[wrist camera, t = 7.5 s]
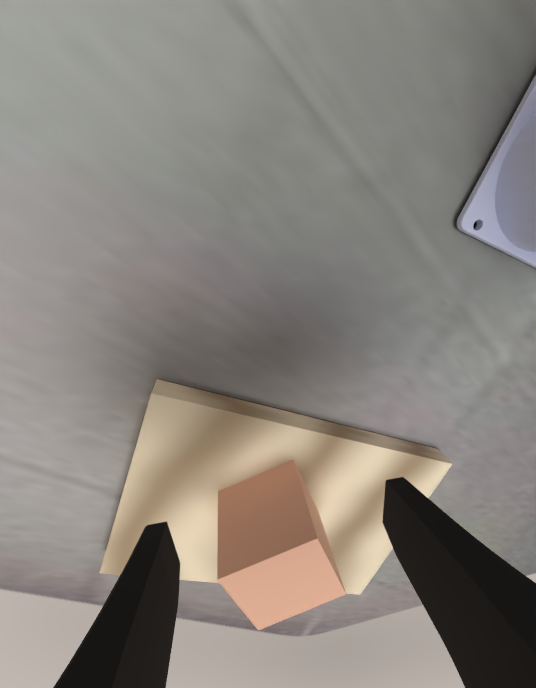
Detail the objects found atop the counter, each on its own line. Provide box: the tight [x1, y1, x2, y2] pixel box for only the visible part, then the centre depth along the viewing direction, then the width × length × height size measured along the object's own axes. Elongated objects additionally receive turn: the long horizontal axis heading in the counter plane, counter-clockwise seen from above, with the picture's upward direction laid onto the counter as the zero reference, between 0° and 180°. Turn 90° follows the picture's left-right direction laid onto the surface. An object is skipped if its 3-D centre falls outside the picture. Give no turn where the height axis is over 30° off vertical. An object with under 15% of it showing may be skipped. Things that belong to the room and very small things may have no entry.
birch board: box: [100, 379, 452, 594], centre depth 21 cm, size 20×14×2 cm
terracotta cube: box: [217, 460, 346, 630], centre depth 17 cm, size 5×5×5 cm
